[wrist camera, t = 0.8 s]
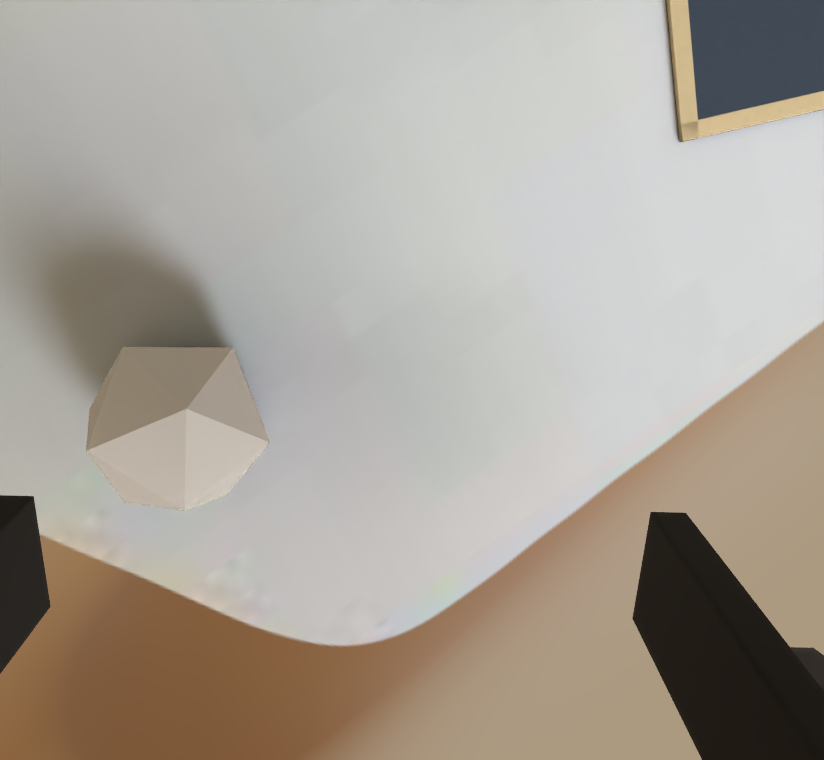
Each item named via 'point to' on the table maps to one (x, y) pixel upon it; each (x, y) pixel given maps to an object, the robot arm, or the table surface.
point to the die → (174, 425)
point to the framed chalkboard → (744, 62)
